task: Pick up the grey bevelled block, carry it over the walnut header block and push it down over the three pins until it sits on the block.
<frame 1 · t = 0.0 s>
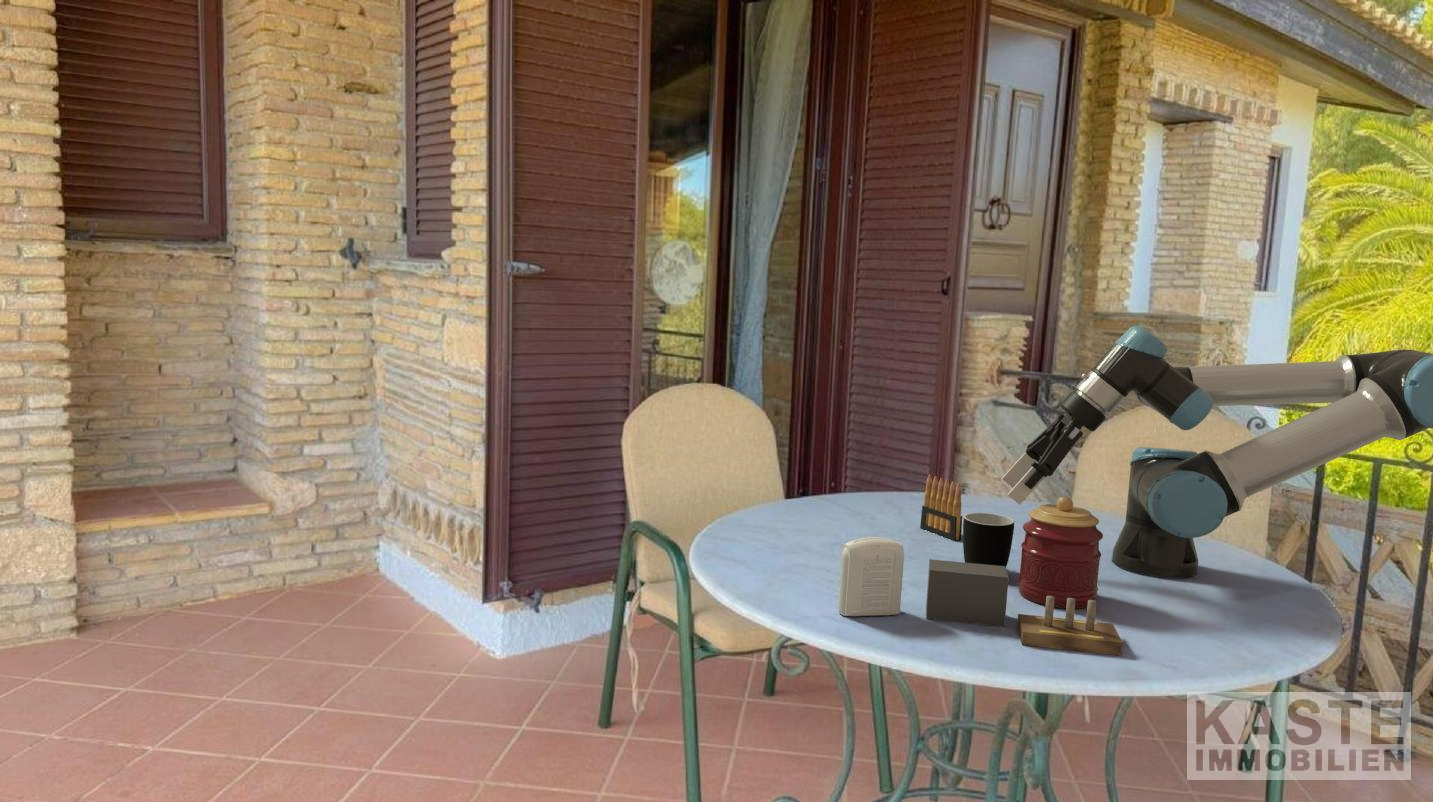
hand: (1010, 491, 182), 15 cm above the table, tool tilted 35°, fingers open, 13 cm apart
photo printer: (868, 614, 160), on the table
mug: (980, 570, 185), on the table
grey bevelled block: (964, 616, 160), on the table
canister: (1056, 598, 171), on the table
ammunition clip: (940, 535, 209), on the table
header block: (1067, 640, 151), on the table
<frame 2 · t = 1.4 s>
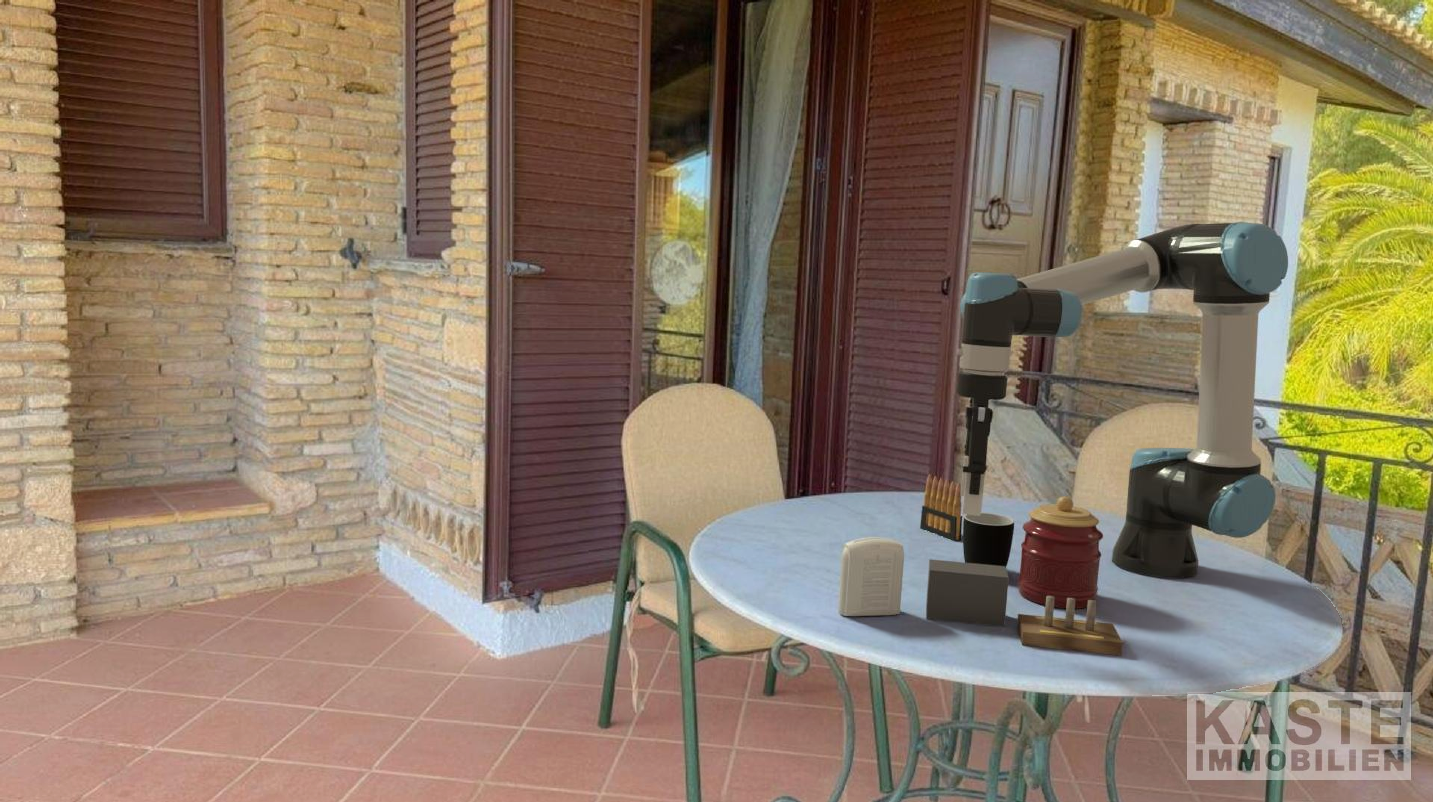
hand: (970, 505, 159), 18 cm above the table, tool pointing down, fingers open, 13 cm apart
nothing on the table moved.
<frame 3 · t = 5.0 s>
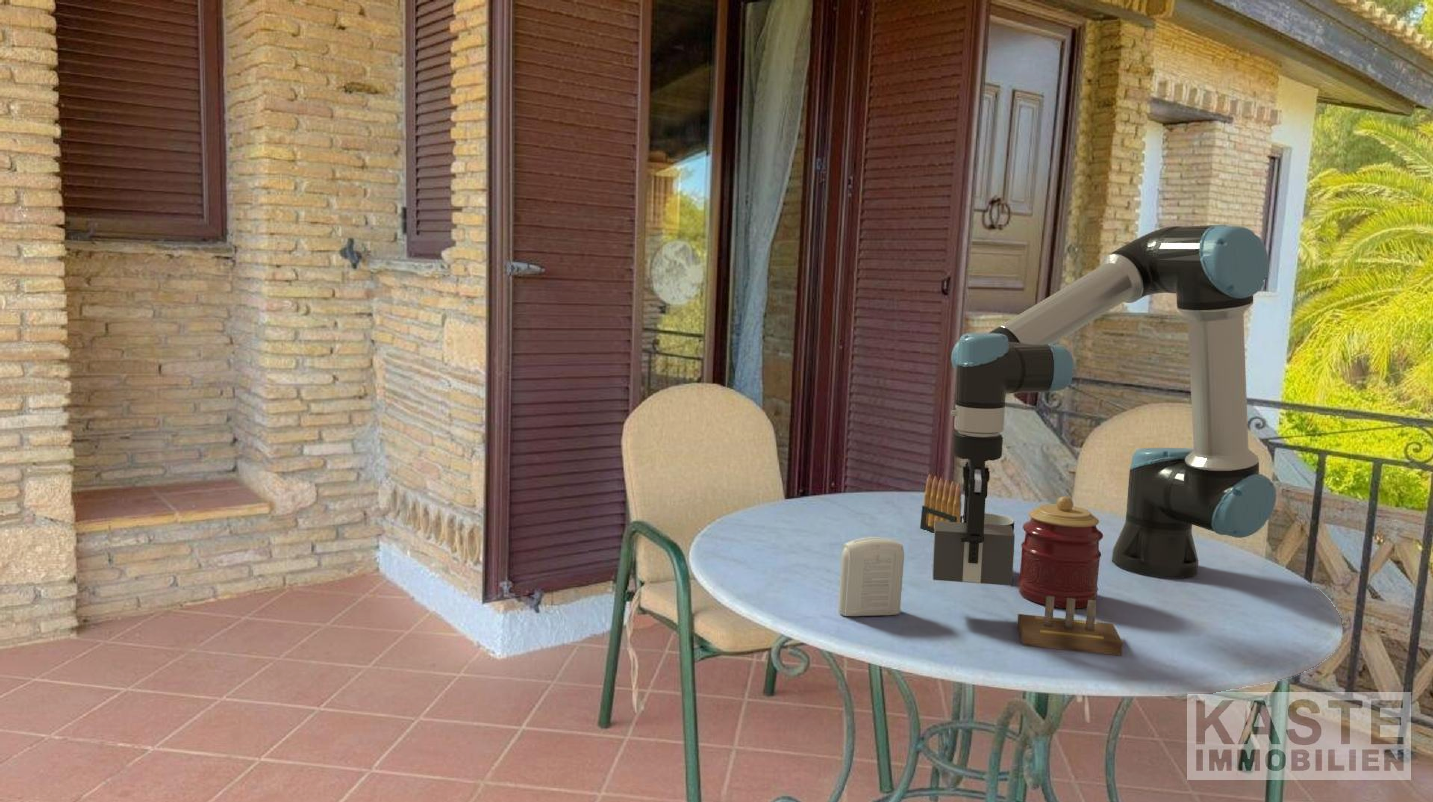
hand: (970, 574, 159), 7 cm above the table, tool pointing down, fingers closed on grey bevelled block, 6 cm apart
grey bevelled block: (971, 576, 159), point 7 cm above the table, touching gripper
everything else where it was.
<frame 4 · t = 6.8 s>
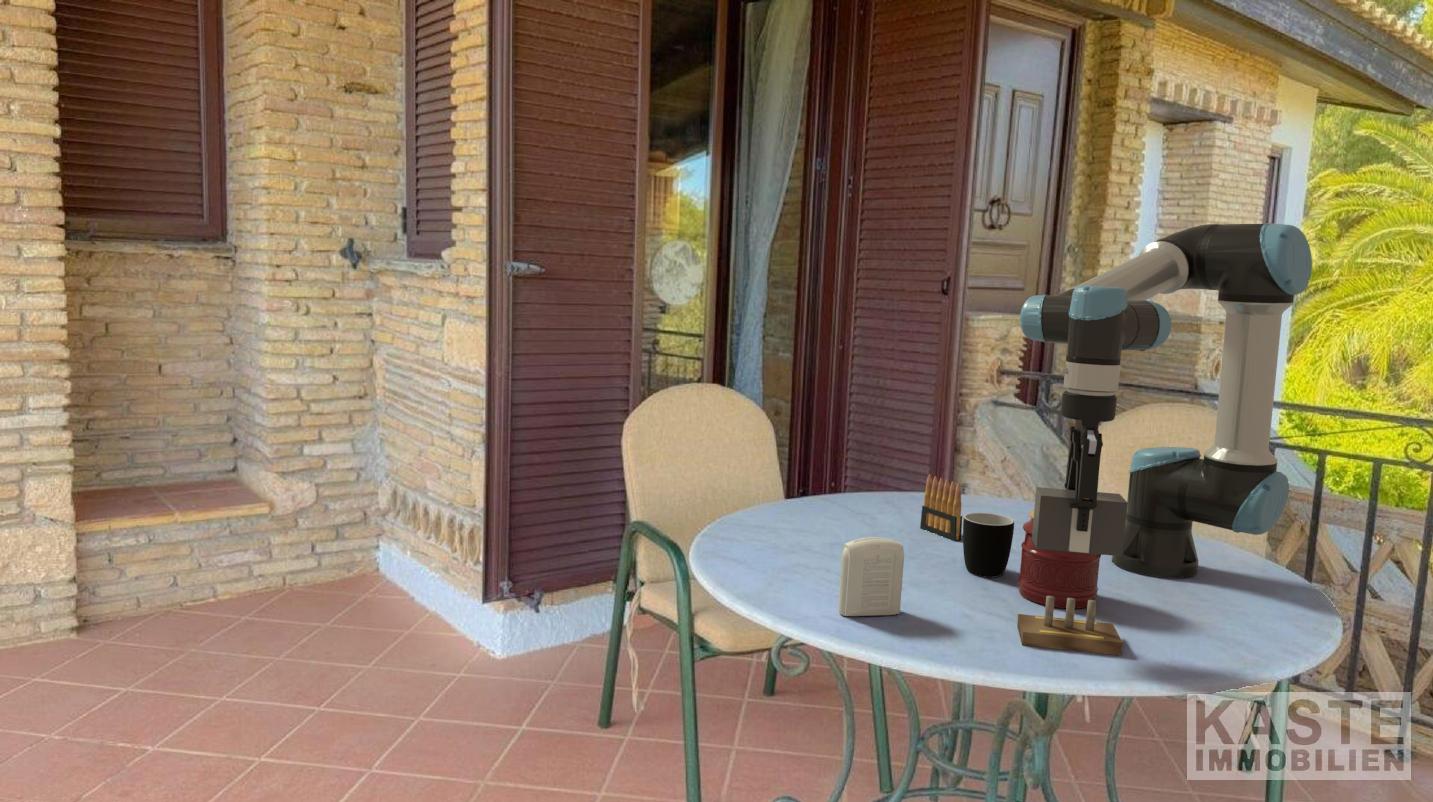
hand: (1075, 545, 149), 15 cm above the table, tool pointing down, fingers closed on grey bevelled block, 6 cm apart
grey bevelled block: (1075, 547, 149), point 15 cm above the table, touching gripper
everything else where it was.
when the fingers open (3 cm above the table, at t = 9.1 s): grey bevelled block stays where it is, resting on header block.
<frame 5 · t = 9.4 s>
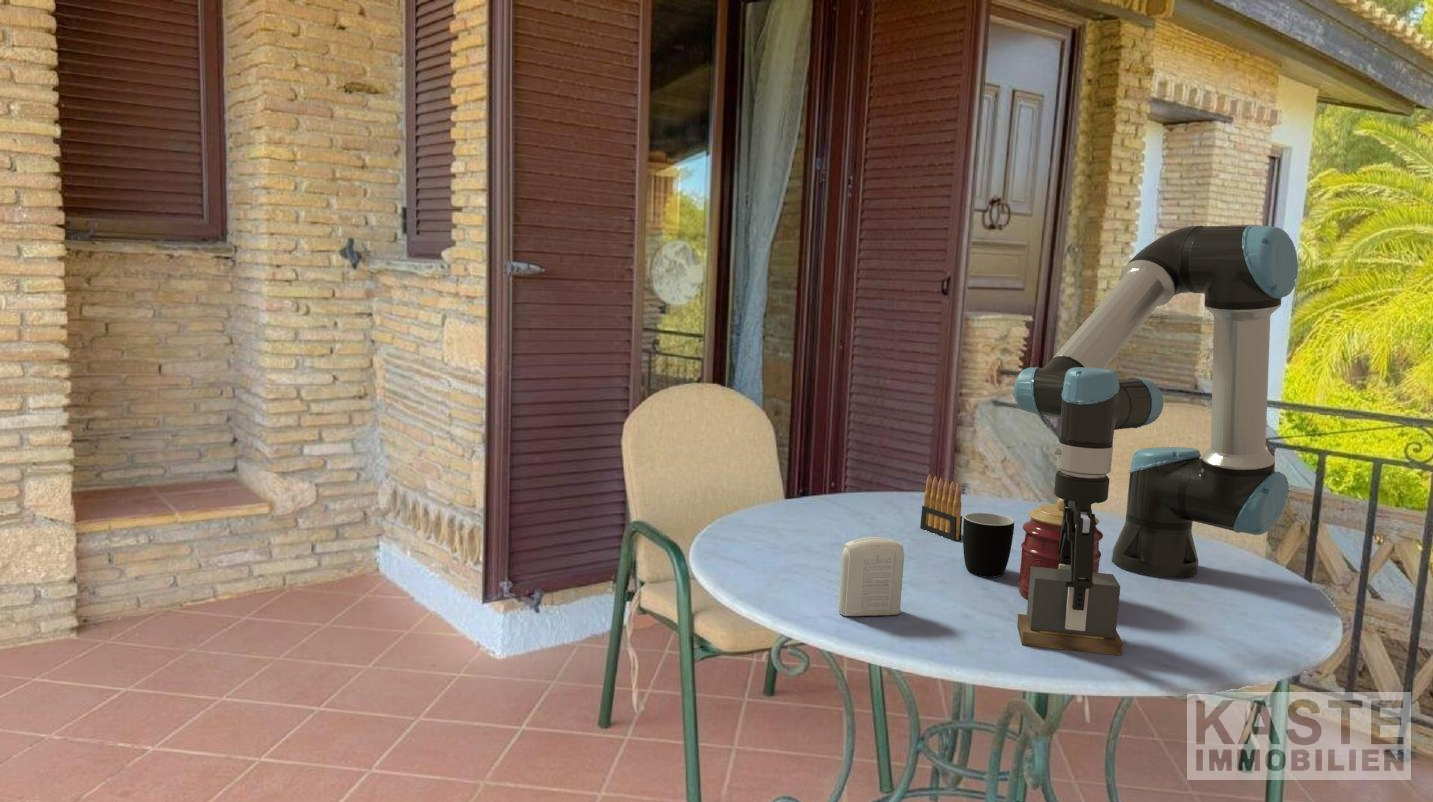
hand: (1069, 617, 151), 4 cm above the table, tool pointing down, fingers open, 10 cm apart
grey bevelled block: (1069, 627, 151), point 2 cm above the table, touching header block
everything else where it was.
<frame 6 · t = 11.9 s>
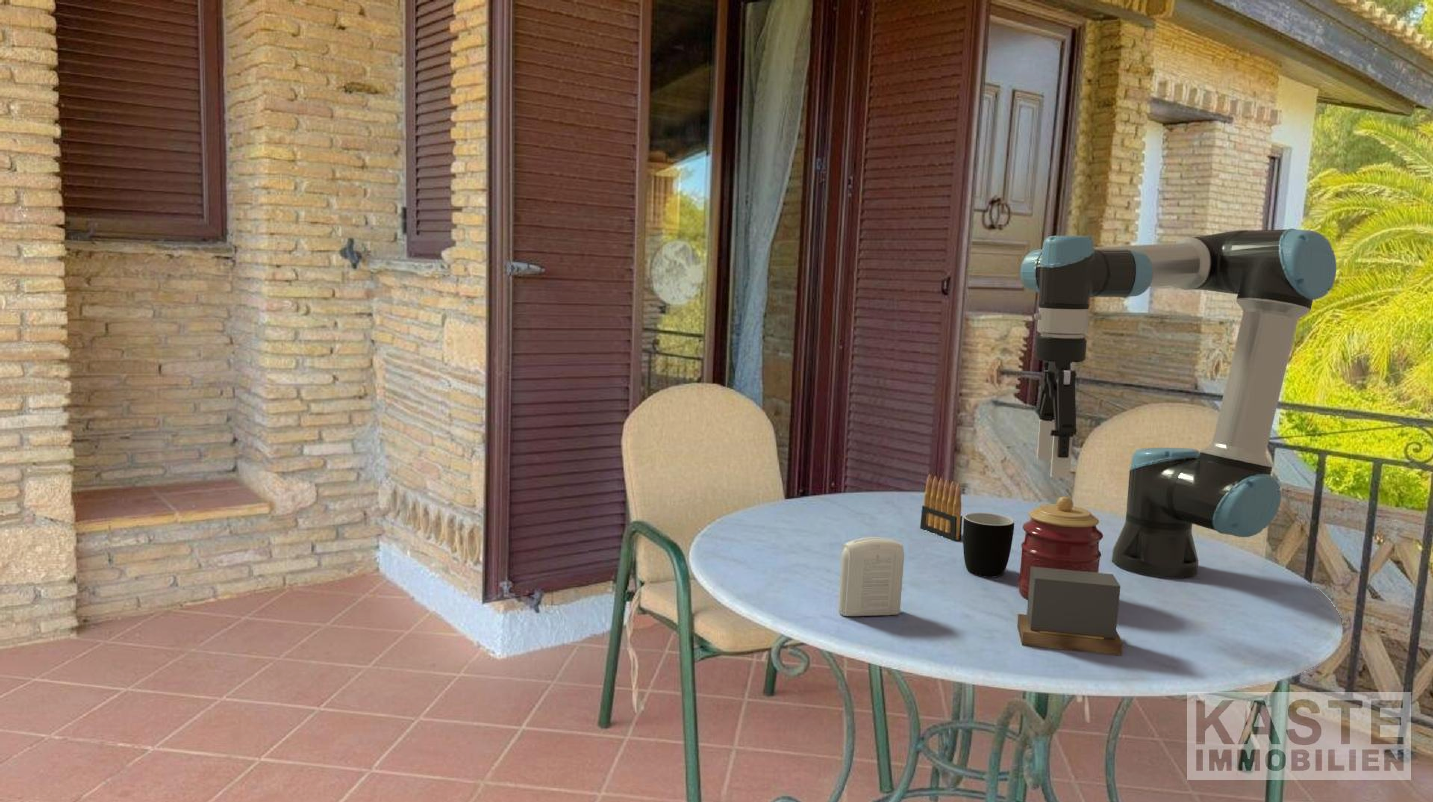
hand: (1052, 468, 159), 24 cm above the table, tool pointing down, fingers open, 13 cm apart
nothing on the table moved.
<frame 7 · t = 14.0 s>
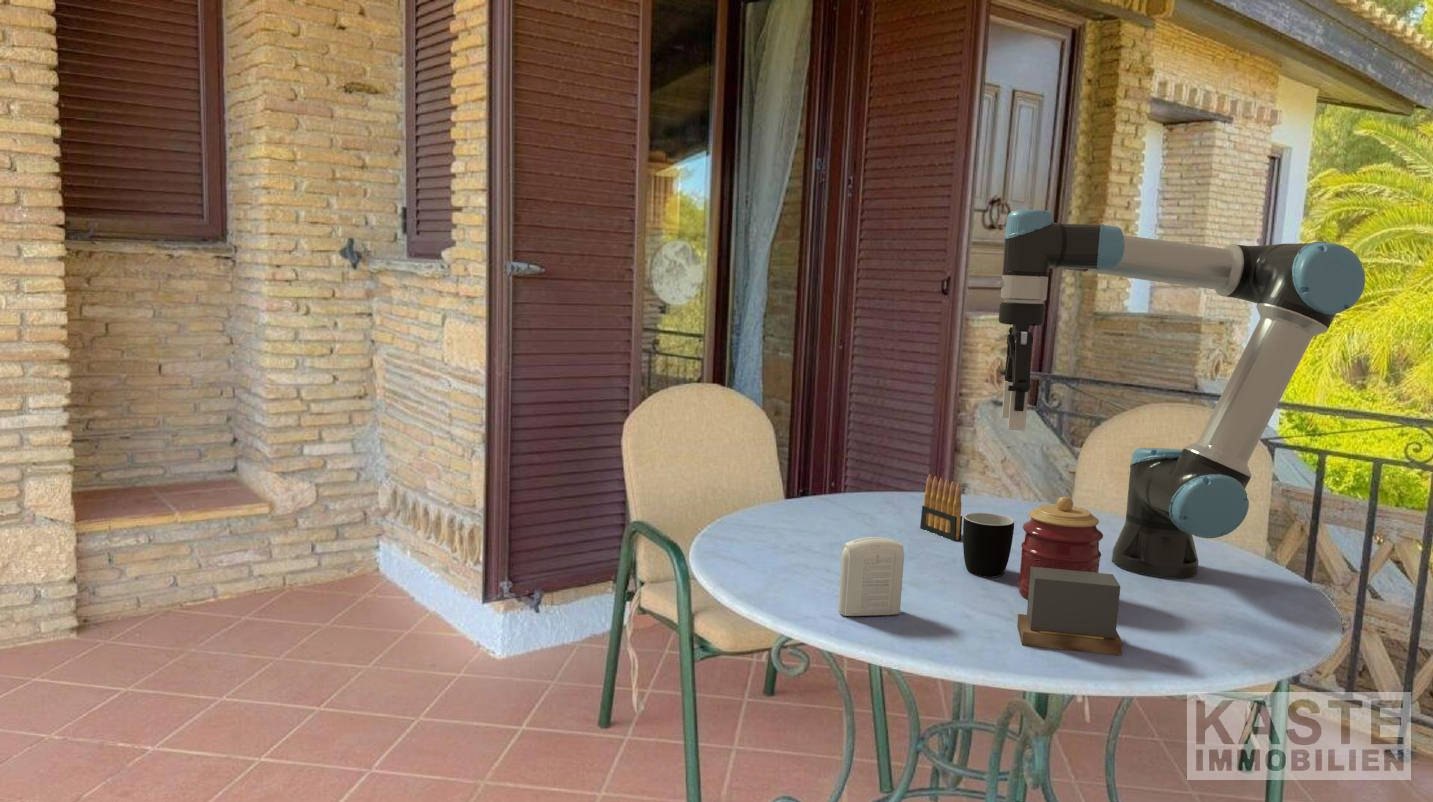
hand: (1012, 424, 174), 29 cm above the table, tool pointing down, fingers open, 13 cm apart
nothing on the table moved.
at the end: grey bevelled block 0.1 cm off-centre on the header block, point 2.1 cm above the header block's base; the gripper is holding nothing; grey bevelled block tilted 0° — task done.
